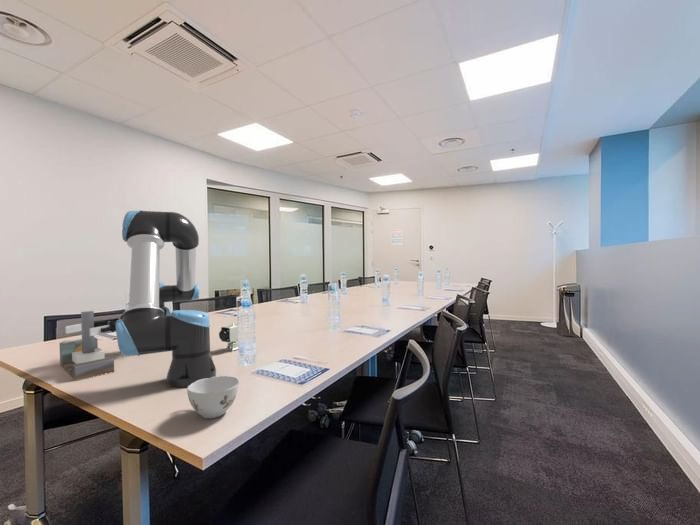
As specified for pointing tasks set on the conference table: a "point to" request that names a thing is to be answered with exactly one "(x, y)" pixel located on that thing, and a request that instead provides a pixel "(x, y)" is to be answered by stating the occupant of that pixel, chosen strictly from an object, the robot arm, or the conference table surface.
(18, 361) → the conference table surface
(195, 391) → the white floral bowl
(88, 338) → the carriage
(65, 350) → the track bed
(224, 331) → the pneumatic valve
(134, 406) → the conference table surface
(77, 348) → the button
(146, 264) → the robot arm
